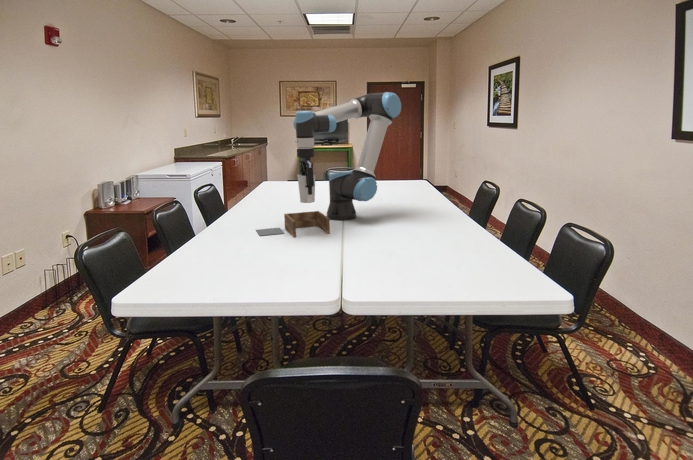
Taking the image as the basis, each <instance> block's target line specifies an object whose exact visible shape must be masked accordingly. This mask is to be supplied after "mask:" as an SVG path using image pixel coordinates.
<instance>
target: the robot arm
mask: <svg viewBox="0 0 693 460" xmlns="http://www.w3.org/2000/svg"><path fill="white" fill-rule="evenodd" d="M401 111H402V102H401V99H400V97H399V96H398V95H397V94H396V93H394V92H389V91H385V92H371V93H367V94H363V95H360V96H359V97H356V98H352V99H350V101H348V102H346V103H341V104H338V105H335V106H332V107H328V108H325V109H324V108H323V109H321V110H319V111H316V112H315V111H314V112H313V111H312V110H302V111H301V110H298V111H296V112H295V118H294V119H293V122H292V123H293V128H294V130H295V136H296V140H295V143H296V147H297V148H296V157H297V158H301V159H300V160H299V162H298V163H299V174H302V176H306V184H307V186H305V187H306V198H307V202H312V203H314V202H313V186H314V177H313V174H314V163H313V162H312V161H311V158H314V157H315V148H314V147H315V134H324V133H325V134H329V133H332V132H335V130H336V129H337V123H340V122H344V121H346V120H350V119H353V118H354V119H361V118H369V121H370V123H369V125H368V129H367V132H366V135H365V139H364V142H363V146H362V149H361V152H360V154H359V158H358V162H357V165H356V168H353V169H352V171H342V172H332V173H330V174H329V178H328V179H329V180H328V188H329V204H328V207H327V211H326V216H327V217H328V218H329V220H334V221H348V220H353V219H356V218H357V211H356V209H355V204H354V202H353V200H354V201H357V202H368V201H371V200H372V199H373V198H374V197H375V195H376V194H377V191H378V183H377V181H376V177H377V176H376V175H375V169H376V167H377V163H378V159H379V156H380V153H381V149H382V146H383V143H384V139H385V136H386V133H387V129H388V127H389V126H390V125H391V124H392V123H393V120H394V118H397V117H398V116H399V115H400V113H401Z"/></svg>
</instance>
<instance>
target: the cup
mask: <svg viewBox="0 0 693 460" xmlns="http://www.w3.org/2000/svg"><path fill="white" fill-rule="evenodd" d="M313 177H314V186H313V202H307V198H306V187H305V186H307V184H306V176H302V174H300V173H299V174H297V182H298V183H297V184H298V193H299V202H300V203H303V204H312V203H315V199H316V198H315V196H316V173H313Z"/></svg>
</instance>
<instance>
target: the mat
mask: <svg viewBox="0 0 693 460" xmlns="http://www.w3.org/2000/svg"><path fill="white" fill-rule="evenodd" d="M255 231H256V233H257V234H258V236H259V237H265V236H268V237H269V236H275V235H276V236H278V235H284V234H285V232H284V230H282V229H281V227H273V228H272V227H271V228H259V229H255Z"/></svg>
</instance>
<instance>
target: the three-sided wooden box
mask: <svg viewBox="0 0 693 460" xmlns="http://www.w3.org/2000/svg"><path fill="white" fill-rule="evenodd" d="M283 214H284V215H283V216H284V229H285V231H286V232H287V233H289V234H290V236H292V237H293V238H296V237H297V229H302V228H311V227H317V228H319V229H320V230H321V231H323V232H324V233H325V234H327V235H330V232H331V231H330V227H331V226H330V219H329V218H328V217H327V215H325V214H324V213H322V212H321V211H319V210H314V211H305V212H304V211H303V212H302V211H301V212H293V213H292V212H291V213H283Z"/></svg>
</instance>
